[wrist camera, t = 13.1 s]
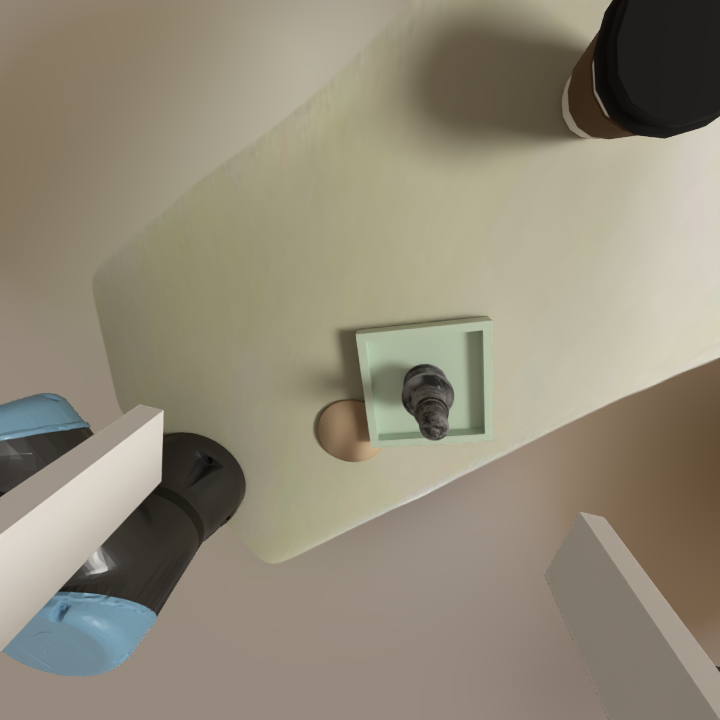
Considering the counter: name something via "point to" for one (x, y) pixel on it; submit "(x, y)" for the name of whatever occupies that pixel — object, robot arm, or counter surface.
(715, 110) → the coffee cup
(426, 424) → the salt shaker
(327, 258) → the counter surface
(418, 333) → the tray
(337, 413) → the cork coaster
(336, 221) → the counter surface
